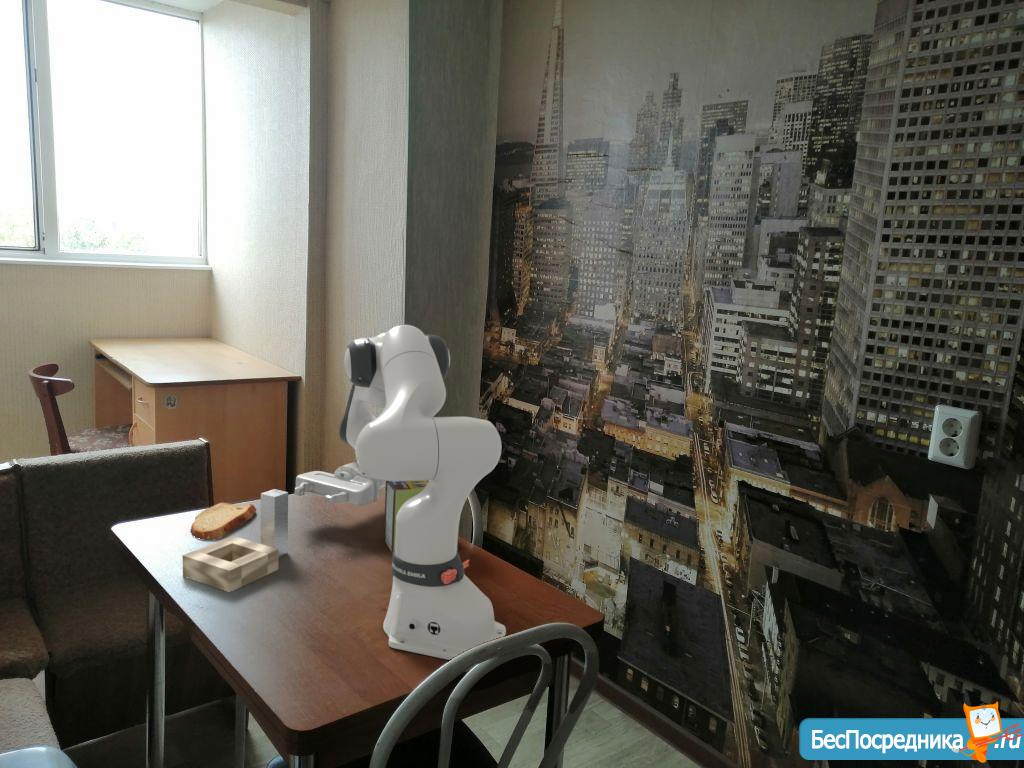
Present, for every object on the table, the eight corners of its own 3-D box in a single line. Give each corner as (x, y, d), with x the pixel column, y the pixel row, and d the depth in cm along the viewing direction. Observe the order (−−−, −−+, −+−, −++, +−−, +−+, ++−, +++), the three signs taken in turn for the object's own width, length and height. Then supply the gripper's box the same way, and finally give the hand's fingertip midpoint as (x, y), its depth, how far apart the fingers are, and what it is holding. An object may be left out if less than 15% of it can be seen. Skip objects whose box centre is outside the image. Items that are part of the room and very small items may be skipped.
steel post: (287, 553, 165) (288, 492, 163) (274, 559, 162) (274, 497, 159) (274, 549, 167) (274, 488, 165) (260, 554, 164) (260, 493, 161)
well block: (278, 569, 157) (278, 549, 156) (229, 592, 145) (229, 570, 145) (233, 555, 162) (233, 535, 162) (182, 576, 151) (182, 555, 150)
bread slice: (200, 544, 168) (200, 528, 168) (174, 520, 181) (174, 506, 181) (276, 529, 180) (276, 514, 179) (247, 507, 193) (247, 493, 193)
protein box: (458, 550, 173) (461, 485, 170) (392, 556, 167) (395, 489, 164) (445, 534, 182) (448, 472, 180) (382, 539, 177) (384, 476, 174)
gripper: (318, 461, 190) (278, 474, 178) (384, 477, 181) (347, 492, 169) (318, 485, 191) (278, 500, 179) (383, 502, 182) (346, 518, 170)
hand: (312, 496), depth 174 cm, fingers open, 8 cm apart
